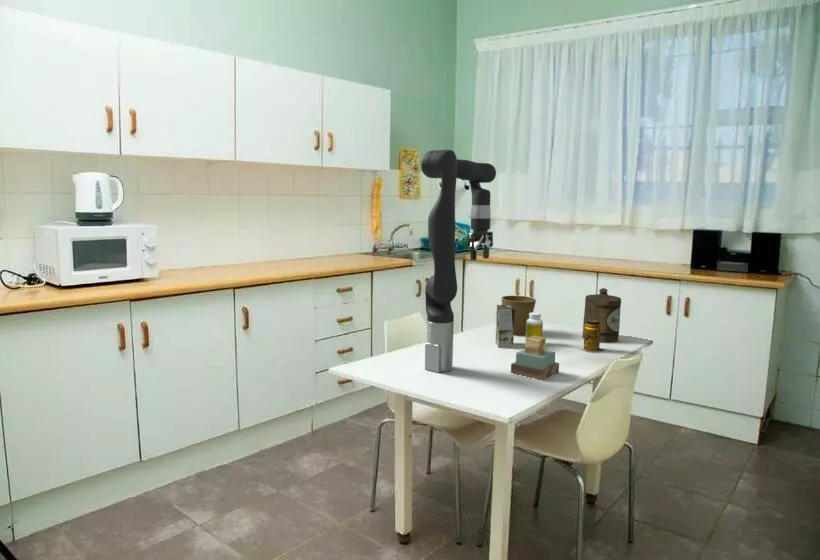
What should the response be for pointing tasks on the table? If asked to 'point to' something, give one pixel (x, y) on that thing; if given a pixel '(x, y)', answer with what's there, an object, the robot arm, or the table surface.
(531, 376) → the tower bottom slab
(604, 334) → the wooden container
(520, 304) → the plant pot
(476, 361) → the table surface
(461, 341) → the table surface
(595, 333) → the condiment
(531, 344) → the oak block
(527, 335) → the supplement bottle
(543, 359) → the tower top slab
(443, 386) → the table surface
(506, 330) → the coffee box
